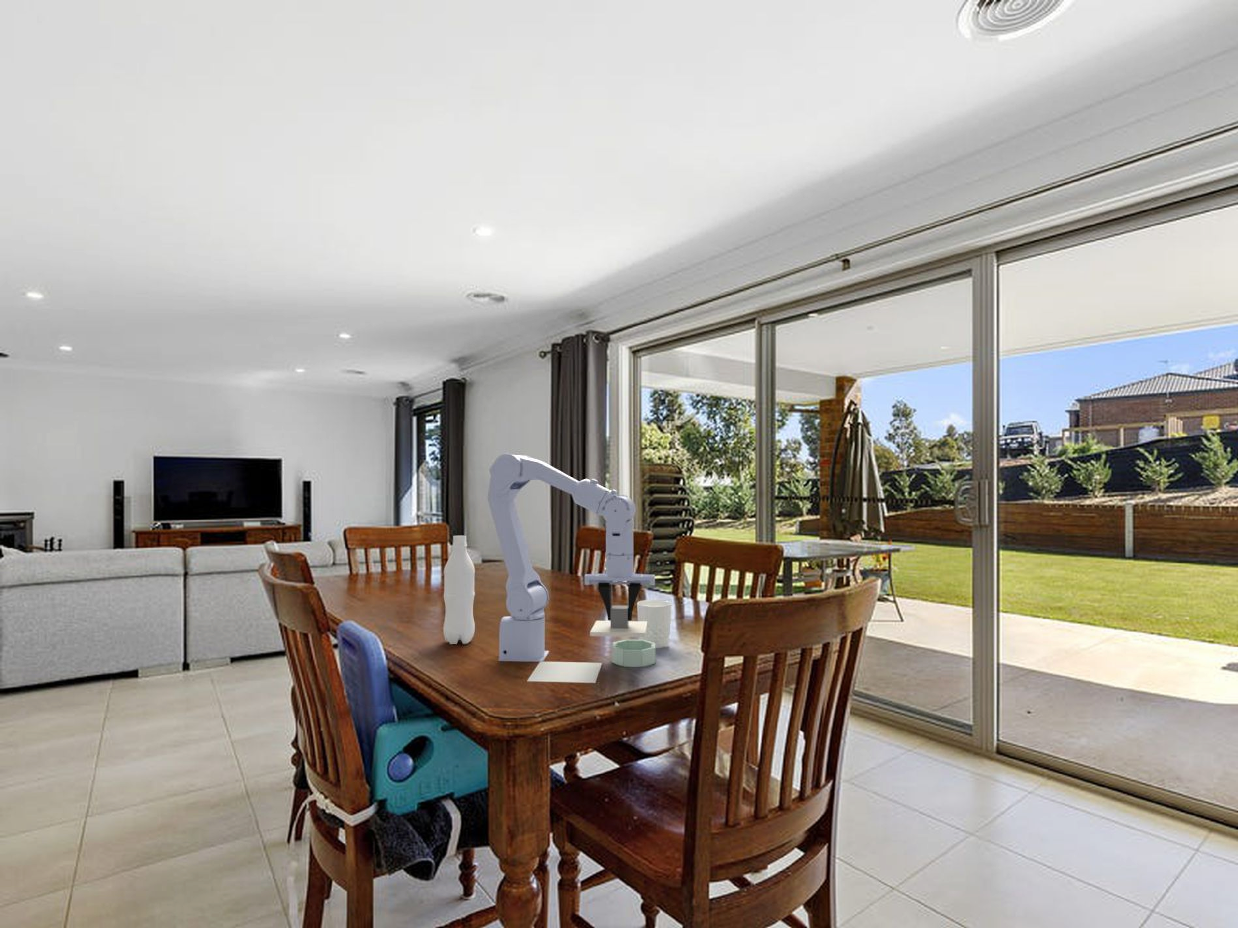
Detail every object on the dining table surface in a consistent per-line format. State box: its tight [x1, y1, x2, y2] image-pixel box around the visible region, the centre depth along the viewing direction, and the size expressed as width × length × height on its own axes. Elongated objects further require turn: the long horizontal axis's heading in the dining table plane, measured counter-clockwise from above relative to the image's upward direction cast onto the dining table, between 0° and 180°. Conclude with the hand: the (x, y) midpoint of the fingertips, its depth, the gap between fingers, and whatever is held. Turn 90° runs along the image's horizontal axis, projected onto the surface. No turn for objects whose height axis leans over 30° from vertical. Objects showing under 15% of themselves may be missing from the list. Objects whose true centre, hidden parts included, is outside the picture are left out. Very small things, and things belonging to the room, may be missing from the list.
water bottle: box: [442, 535, 476, 645], centre depth 154 cm, size 7×7×25 cm
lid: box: [589, 604, 647, 638], centre depth 135 cm, size 11×11×5 cm
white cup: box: [636, 599, 672, 649], centre depth 150 cm, size 8×8×10 cm
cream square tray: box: [526, 661, 603, 684], centre depth 129 cm, size 13×13×1 cm
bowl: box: [611, 639, 656, 668], centre depth 137 cm, size 9×9×4 cm
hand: (619, 619), depth 135 cm, fingers closed on lid, 3 cm apart
